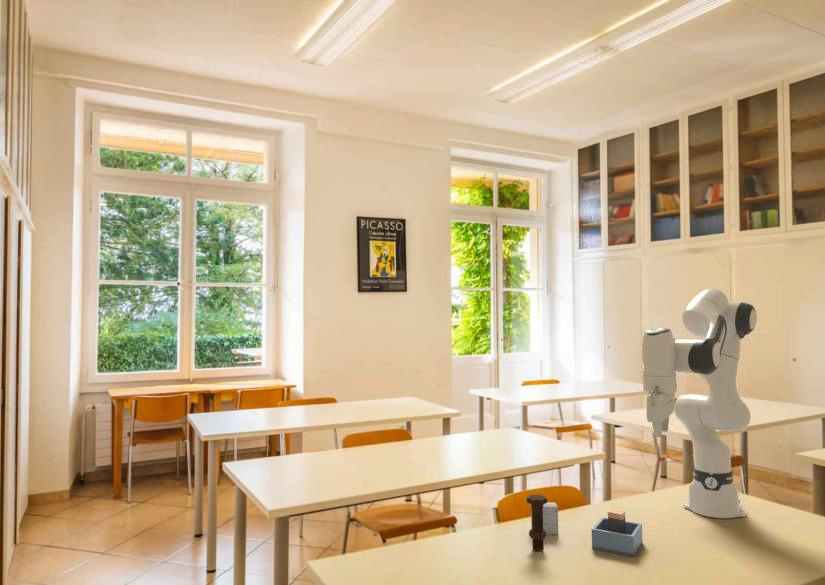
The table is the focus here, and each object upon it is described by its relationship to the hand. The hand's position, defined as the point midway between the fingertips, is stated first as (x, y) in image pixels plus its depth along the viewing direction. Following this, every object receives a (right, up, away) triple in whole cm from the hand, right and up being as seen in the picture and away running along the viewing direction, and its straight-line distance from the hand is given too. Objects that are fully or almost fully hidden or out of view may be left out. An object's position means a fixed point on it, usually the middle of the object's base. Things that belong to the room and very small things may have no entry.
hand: (661, 434), depth 168 cm
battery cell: (-11, -33, +4) cm, 35 cm away
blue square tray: (-11, -34, +4) cm, 36 cm away
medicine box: (-30, -35, +16) cm, 48 cm away
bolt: (-35, -34, +2) cm, 49 cm away
